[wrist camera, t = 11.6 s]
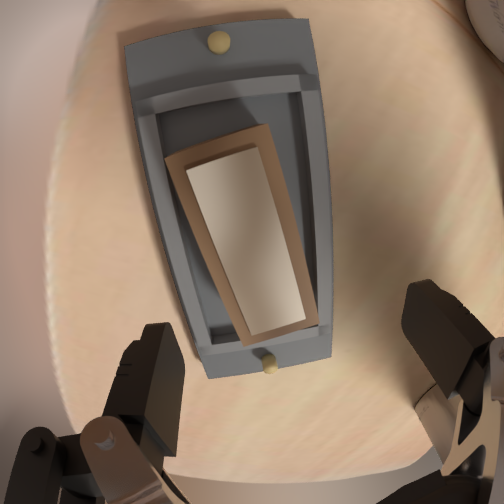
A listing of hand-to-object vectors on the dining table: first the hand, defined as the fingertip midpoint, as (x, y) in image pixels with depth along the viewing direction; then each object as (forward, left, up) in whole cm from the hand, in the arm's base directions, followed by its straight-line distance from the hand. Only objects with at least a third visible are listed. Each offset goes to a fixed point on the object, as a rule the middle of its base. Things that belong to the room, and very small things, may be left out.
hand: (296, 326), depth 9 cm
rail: (+1, 0, -12) cm, 12 cm away
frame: (+1, 0, -10) cm, 10 cm away
